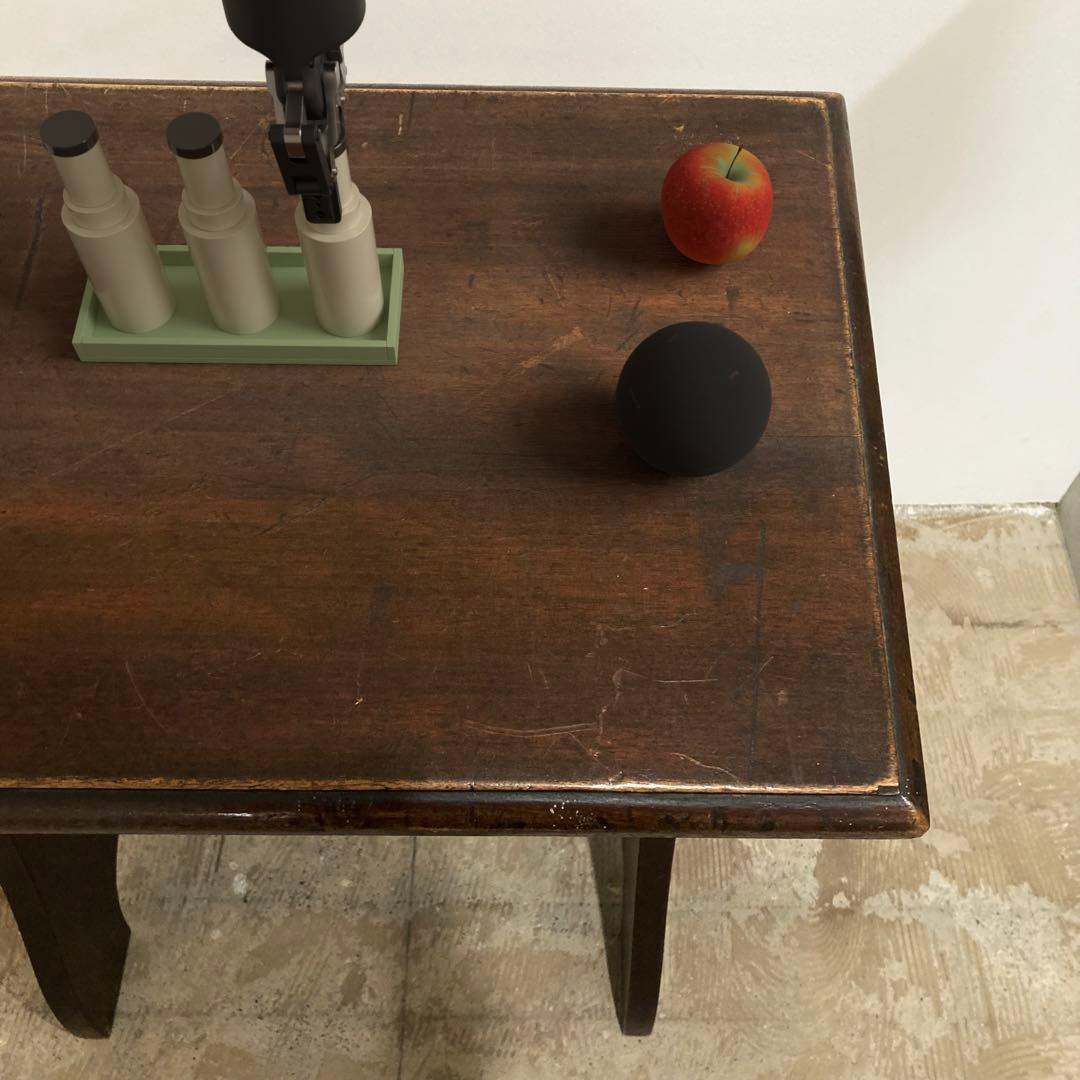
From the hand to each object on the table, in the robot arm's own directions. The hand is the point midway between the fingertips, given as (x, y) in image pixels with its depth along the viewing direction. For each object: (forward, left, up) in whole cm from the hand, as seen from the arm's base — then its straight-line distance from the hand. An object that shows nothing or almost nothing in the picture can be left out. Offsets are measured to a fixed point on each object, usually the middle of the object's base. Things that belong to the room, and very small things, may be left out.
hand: (328, 188), depth 73 cm
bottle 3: (0, 0, -12) cm, 12 cm away
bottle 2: (-8, 0, -12) cm, 14 cm away
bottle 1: (-15, 0, -12) cm, 19 cm away
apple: (+26, +7, -12) cm, 30 cm away
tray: (-8, 0, -12) cm, 14 cm away
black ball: (+23, -11, -12) cm, 29 cm away
